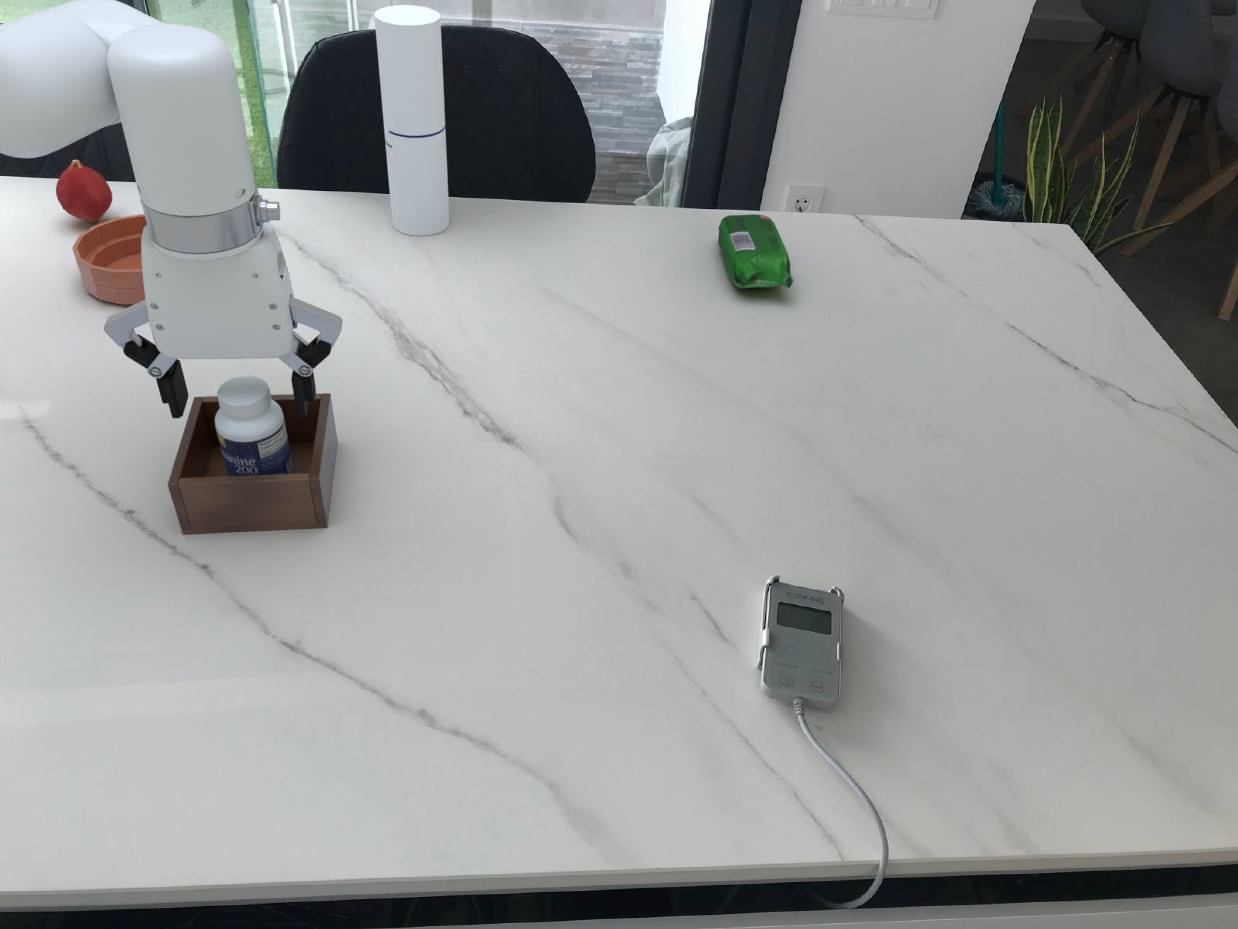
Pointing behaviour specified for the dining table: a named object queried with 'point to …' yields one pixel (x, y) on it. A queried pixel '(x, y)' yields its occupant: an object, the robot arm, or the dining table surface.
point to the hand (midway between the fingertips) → (242, 406)
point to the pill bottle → (251, 429)
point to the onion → (83, 193)
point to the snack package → (754, 252)
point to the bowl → (112, 260)
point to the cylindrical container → (413, 117)
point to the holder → (255, 499)
